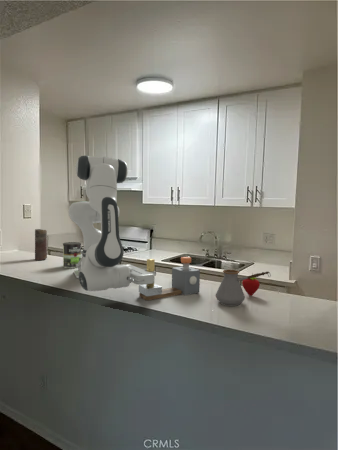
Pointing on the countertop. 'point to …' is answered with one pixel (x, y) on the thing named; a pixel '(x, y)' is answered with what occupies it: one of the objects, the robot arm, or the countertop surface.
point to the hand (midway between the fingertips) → (152, 272)
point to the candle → (40, 244)
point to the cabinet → (186, 280)
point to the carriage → (150, 288)
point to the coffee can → (71, 254)
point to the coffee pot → (232, 288)
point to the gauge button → (185, 262)
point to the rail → (165, 293)
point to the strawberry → (251, 285)
